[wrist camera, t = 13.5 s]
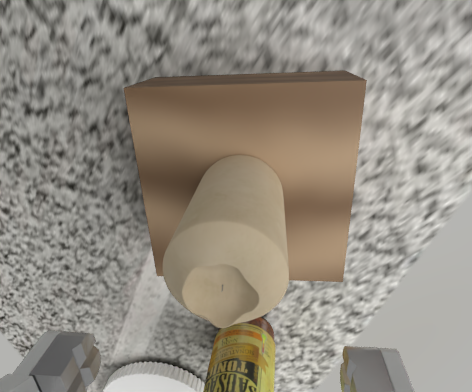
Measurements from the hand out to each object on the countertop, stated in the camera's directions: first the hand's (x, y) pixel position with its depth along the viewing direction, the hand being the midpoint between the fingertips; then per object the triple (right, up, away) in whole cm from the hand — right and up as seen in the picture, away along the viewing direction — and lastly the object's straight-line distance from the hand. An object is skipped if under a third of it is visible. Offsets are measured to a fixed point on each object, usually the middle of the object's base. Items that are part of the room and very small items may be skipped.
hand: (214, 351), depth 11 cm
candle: (+1, +5, +11) cm, 13 cm away
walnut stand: (+2, +8, +17) cm, 19 cm away
